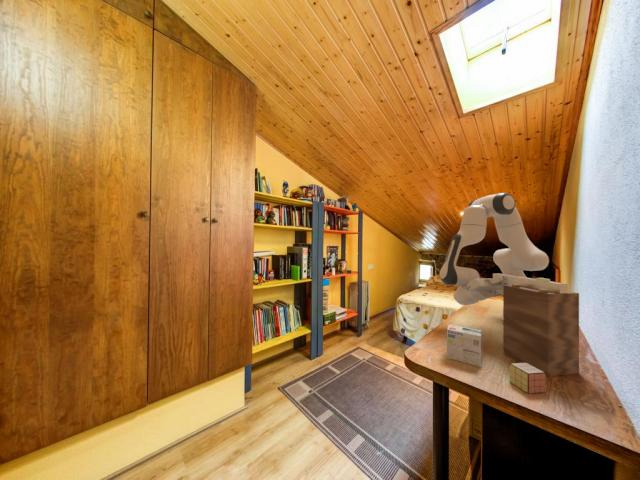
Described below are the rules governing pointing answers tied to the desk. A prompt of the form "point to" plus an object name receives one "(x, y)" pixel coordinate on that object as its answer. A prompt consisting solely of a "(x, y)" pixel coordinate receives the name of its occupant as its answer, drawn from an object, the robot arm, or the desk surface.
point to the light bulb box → (464, 345)
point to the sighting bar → (534, 283)
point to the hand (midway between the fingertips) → (507, 277)
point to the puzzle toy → (527, 377)
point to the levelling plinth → (541, 328)
